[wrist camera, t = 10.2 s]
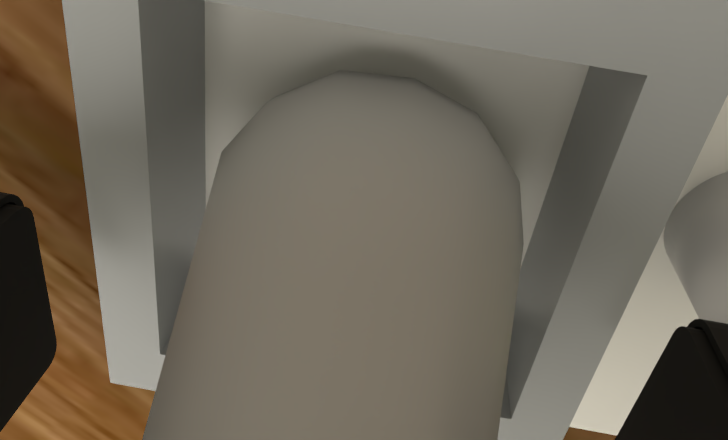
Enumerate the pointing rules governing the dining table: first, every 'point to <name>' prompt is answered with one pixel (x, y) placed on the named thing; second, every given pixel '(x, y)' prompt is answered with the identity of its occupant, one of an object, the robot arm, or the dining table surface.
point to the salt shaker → (349, 274)
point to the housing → (502, 119)
